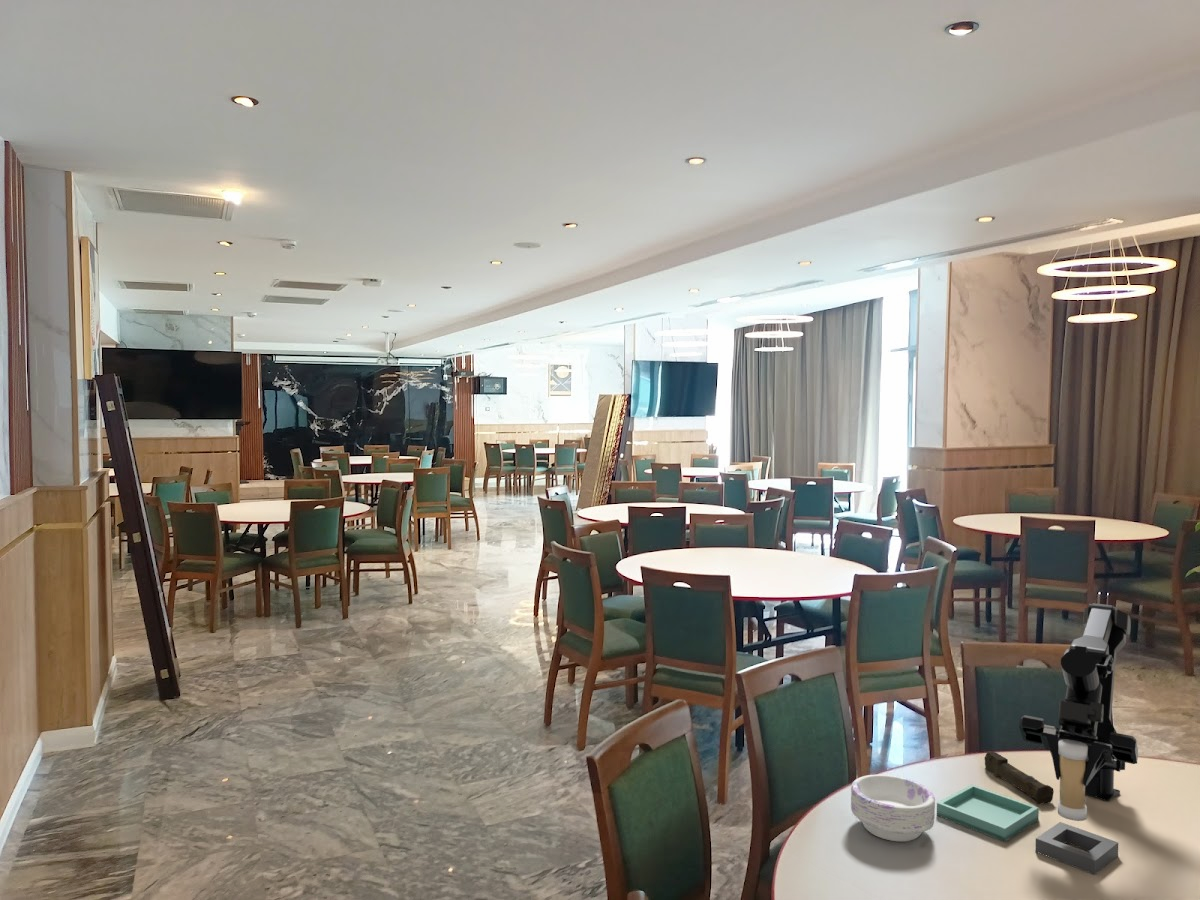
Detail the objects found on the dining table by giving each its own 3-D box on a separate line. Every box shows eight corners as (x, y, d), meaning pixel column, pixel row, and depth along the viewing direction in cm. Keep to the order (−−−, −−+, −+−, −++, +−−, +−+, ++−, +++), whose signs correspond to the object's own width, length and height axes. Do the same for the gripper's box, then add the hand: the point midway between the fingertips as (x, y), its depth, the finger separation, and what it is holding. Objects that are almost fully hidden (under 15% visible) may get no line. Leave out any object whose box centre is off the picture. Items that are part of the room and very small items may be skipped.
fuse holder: (1059, 834, 159) (1060, 821, 159) (1118, 856, 151) (1118, 842, 151) (1035, 851, 152) (1035, 838, 152) (1094, 874, 145) (1095, 860, 145)
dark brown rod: (1054, 804, 172) (1055, 782, 171) (1037, 806, 171) (1037, 783, 171) (996, 767, 190) (996, 747, 190) (980, 768, 190) (980, 748, 189)
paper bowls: (950, 833, 159) (950, 792, 159) (904, 859, 150) (905, 815, 150) (880, 804, 172) (881, 766, 171) (834, 826, 162) (834, 786, 162)
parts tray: (971, 796, 175) (971, 784, 175) (1038, 820, 164) (1038, 807, 164) (936, 815, 167) (936, 802, 167) (1004, 841, 156) (1005, 828, 156)
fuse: (1064, 806, 155) (1065, 737, 155) (1091, 816, 151) (1092, 745, 151) (1052, 813, 152) (1053, 743, 152) (1079, 823, 149) (1080, 751, 148)
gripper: (1021, 673, 160) (1007, 748, 152) (1137, 692, 148) (1128, 774, 140) (1030, 702, 166) (1016, 776, 158) (1141, 723, 155) (1133, 803, 147)
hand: (1071, 781), depth 151 cm, fingers closed on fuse, 4 cm apart
